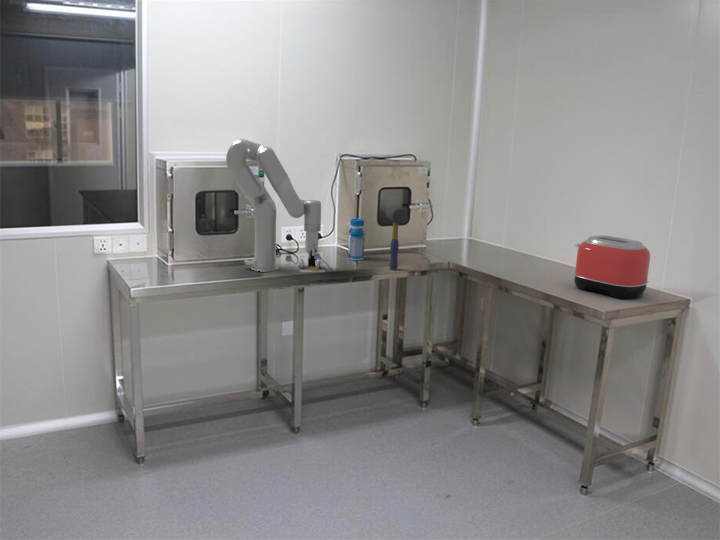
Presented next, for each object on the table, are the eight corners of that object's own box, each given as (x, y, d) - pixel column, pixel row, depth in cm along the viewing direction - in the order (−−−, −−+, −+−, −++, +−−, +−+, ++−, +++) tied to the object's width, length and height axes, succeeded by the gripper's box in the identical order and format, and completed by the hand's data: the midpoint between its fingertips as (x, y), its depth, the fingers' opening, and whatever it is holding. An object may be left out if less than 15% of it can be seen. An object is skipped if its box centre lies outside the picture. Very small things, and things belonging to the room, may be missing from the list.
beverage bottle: (354, 261, 325) (356, 221, 320) (344, 258, 331) (345, 218, 326) (367, 259, 330) (369, 219, 326) (356, 256, 336) (358, 217, 332)
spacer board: (300, 273, 294) (300, 272, 294) (298, 266, 307) (298, 265, 307) (324, 273, 296) (324, 272, 296) (321, 266, 309) (321, 265, 309)
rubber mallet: (382, 266, 315) (385, 204, 308) (397, 266, 317) (400, 204, 310) (389, 272, 303) (392, 207, 297) (404, 272, 305) (408, 208, 298)
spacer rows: (300, 269, 300) (300, 262, 299) (298, 265, 307) (299, 259, 307) (322, 269, 302) (323, 262, 301) (320, 265, 309) (321, 259, 308)
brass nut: (310, 271, 296) (310, 267, 296) (308, 269, 300) (308, 265, 300) (320, 270, 298) (320, 267, 298) (317, 269, 302) (317, 265, 301)
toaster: (654, 295, 280) (662, 242, 275) (627, 303, 265) (635, 247, 260) (586, 280, 304) (592, 231, 298) (558, 286, 289) (564, 235, 284)
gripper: (302, 224, 304) (301, 263, 309) (305, 230, 290) (305, 270, 294) (318, 224, 306) (317, 263, 310) (322, 230, 292) (321, 270, 296)
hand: (311, 266), depth 302 cm, fingers closed
